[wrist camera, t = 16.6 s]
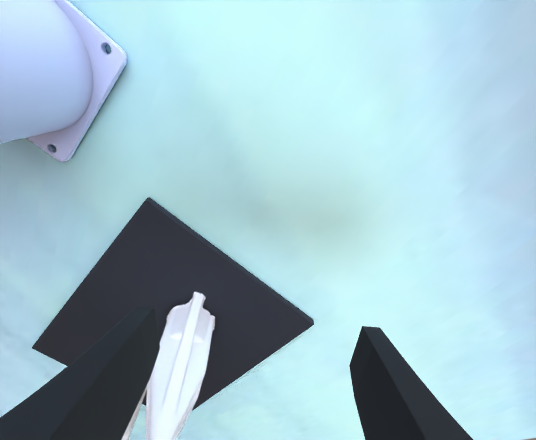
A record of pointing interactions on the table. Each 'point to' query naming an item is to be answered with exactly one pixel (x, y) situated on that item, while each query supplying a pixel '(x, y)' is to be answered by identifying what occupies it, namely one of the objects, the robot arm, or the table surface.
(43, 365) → the table surface
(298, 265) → the table surface
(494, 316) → the table surface
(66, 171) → the table surface
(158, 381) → the shaker set
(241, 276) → the placemat
